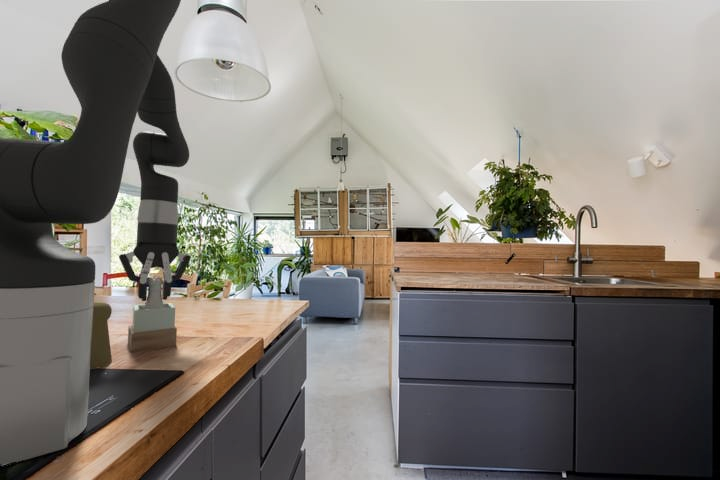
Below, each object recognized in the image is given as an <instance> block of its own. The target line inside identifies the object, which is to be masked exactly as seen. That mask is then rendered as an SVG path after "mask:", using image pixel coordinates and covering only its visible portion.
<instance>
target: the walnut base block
mask: <svg viewBox="0 0 720 480" xmlns="http://www.w3.org/2000/svg"><path fill="white" fill-rule="evenodd" d="M127 331H128V332H127V333H128V334H127V346H128V348H129V351H130V353H136V352H142V351H148V350H156V349H162V348H168V347H175V346H177V335H178V333H177V332H178V328H177V327H176V326H175V327H174V328H170V329H162V330H154V331H145V332H137V333H134V331H133V324H131V325H128V330H127Z"/></svg>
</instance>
